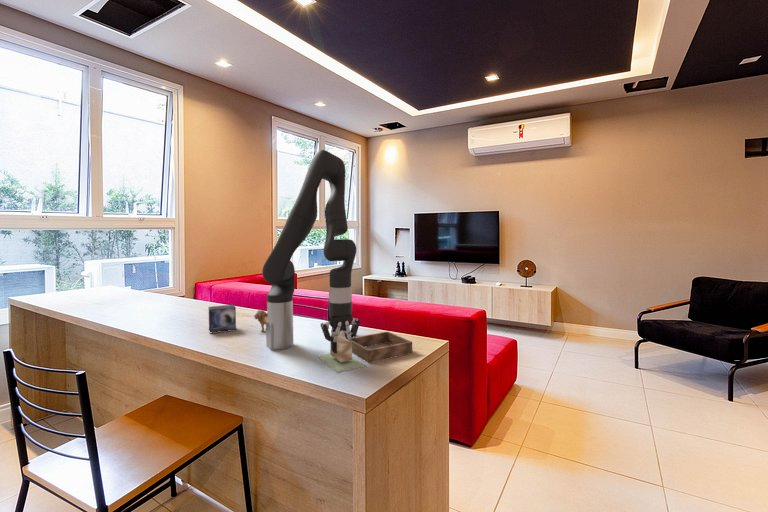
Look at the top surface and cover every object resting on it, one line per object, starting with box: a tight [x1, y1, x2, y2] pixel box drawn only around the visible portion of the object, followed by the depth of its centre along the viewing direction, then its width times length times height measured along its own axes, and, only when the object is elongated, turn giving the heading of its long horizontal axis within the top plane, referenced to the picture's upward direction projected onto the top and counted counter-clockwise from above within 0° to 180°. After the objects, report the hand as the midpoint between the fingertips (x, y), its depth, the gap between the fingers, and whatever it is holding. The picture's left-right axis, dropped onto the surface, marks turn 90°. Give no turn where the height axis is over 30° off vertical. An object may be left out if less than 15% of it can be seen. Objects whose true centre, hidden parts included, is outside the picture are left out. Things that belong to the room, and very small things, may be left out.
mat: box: [317, 353, 367, 373], centre depth 121 cm, size 10×16×1 cm, turn 32°
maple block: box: [329, 336, 353, 362], centre depth 121 cm, size 4×8×6 cm, turn 32°
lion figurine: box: [253, 309, 267, 332], centre depth 156 cm, size 15×5×9 cm, turn 53°
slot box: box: [351, 331, 413, 363], centre depth 131 cm, size 18×16×4 cm
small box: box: [208, 304, 237, 333], centre depth 159 cm, size 11×6×10 cm, turn 119°
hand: (341, 351), depth 121 cm, fingers closed on maple block, 3 cm apart
